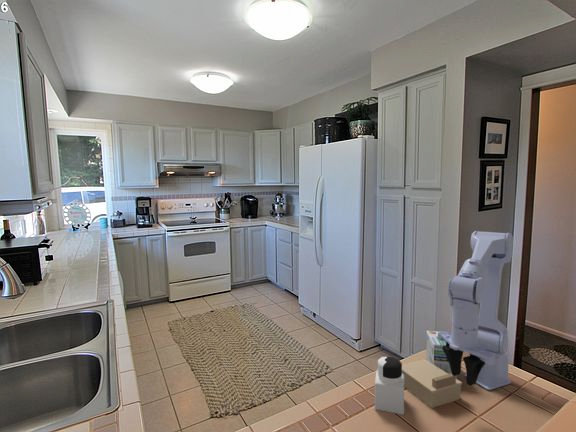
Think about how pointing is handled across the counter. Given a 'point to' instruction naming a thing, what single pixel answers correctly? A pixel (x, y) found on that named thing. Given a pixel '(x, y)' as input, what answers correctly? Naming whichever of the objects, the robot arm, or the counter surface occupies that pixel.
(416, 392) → the base
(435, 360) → the light bulb box
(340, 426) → the counter surface
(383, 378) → the medicine bottle
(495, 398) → the counter surface
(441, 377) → the mailer lid
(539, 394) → the counter surface
